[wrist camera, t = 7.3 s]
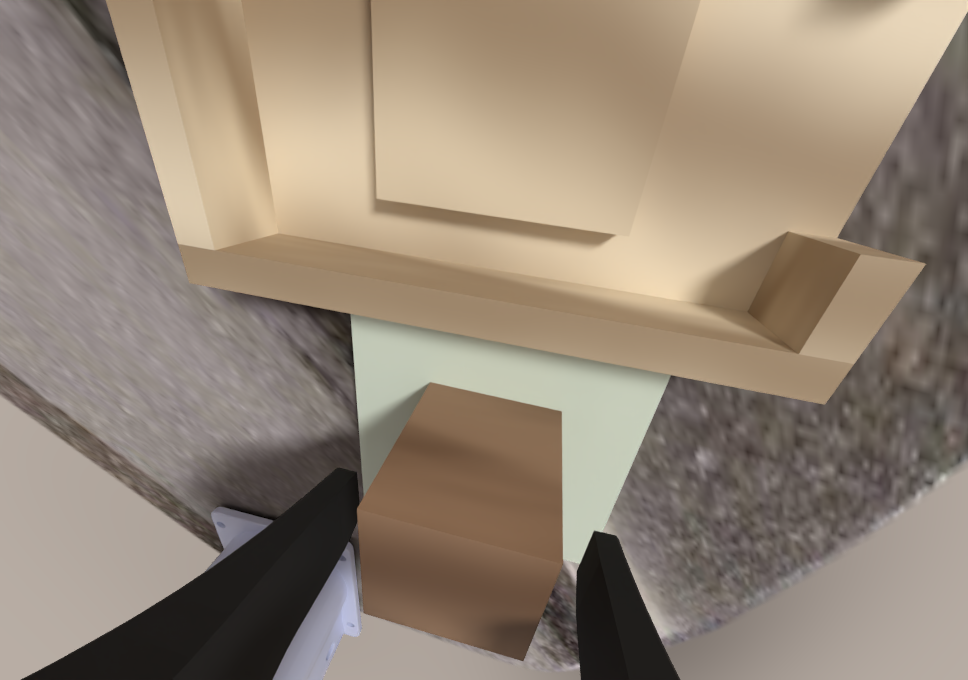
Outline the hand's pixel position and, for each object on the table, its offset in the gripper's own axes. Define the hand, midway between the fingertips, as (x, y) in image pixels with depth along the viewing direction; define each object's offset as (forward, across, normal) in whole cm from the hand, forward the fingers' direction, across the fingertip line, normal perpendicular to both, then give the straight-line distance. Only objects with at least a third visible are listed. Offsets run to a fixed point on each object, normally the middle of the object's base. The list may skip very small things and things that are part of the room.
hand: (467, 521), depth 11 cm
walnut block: (+3, 0, 0) cm, 3 cm away
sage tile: (+3, 0, 0) cm, 3 cm away
